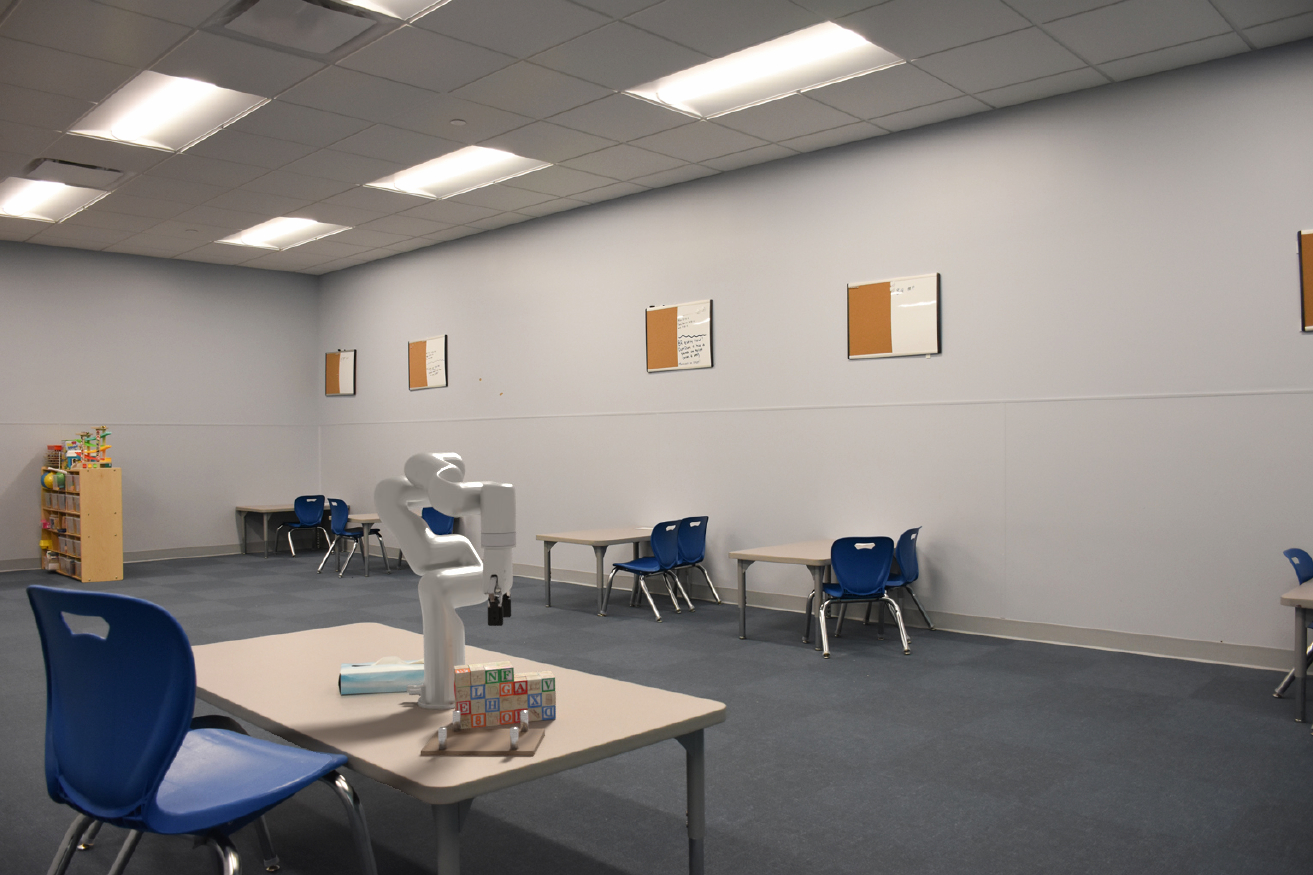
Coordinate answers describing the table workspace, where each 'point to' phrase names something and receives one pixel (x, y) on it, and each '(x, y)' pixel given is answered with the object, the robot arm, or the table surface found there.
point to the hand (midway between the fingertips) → (499, 620)
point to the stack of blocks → (502, 694)
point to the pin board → (485, 740)
